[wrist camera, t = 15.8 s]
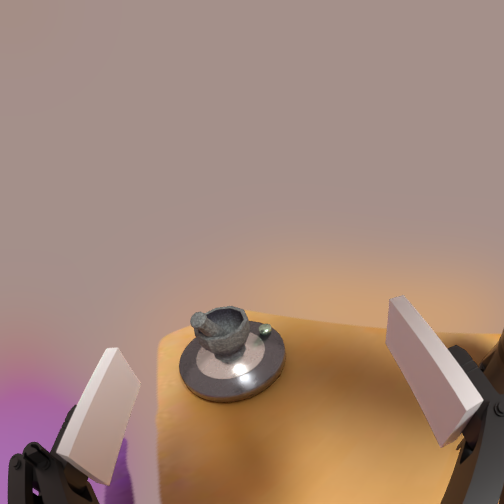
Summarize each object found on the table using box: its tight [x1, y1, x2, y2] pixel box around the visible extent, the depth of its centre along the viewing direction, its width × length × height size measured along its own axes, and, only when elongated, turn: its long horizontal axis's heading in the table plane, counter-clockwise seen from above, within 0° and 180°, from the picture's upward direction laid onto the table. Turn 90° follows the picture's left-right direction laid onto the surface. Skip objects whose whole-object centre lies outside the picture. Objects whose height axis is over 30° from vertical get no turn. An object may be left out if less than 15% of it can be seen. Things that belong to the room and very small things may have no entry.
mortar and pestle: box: [190, 306, 250, 362], centre depth 46 cm, size 11×9×12 cm
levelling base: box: [179, 321, 286, 402], centre depth 49 cm, size 20×20×4 cm
